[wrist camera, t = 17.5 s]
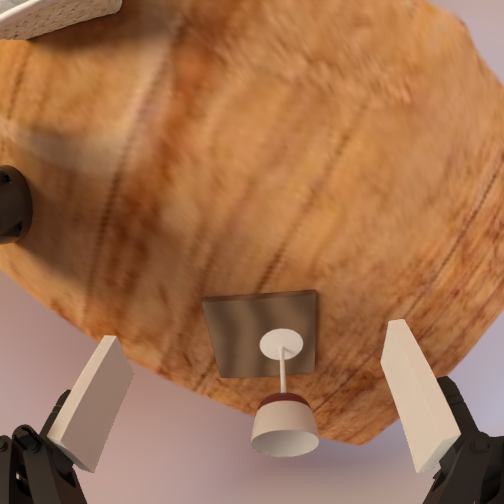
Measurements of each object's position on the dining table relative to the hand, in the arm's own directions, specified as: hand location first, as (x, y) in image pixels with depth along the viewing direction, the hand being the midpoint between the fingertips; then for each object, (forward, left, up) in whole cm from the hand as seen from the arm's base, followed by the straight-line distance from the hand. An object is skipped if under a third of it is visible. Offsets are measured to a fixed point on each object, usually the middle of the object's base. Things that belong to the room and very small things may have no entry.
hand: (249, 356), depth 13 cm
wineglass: (+1, -26, -29) cm, 39 cm away
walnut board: (-2, -25, -31) cm, 40 cm away
